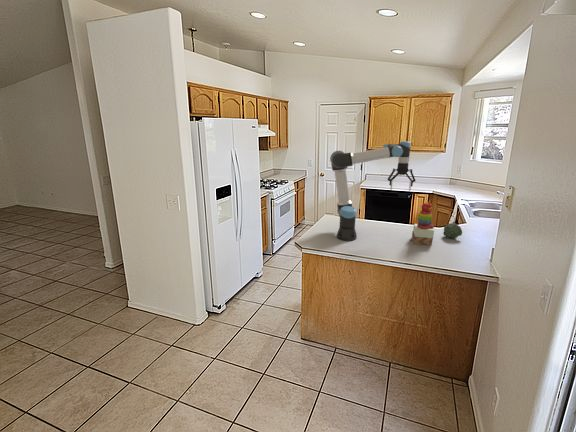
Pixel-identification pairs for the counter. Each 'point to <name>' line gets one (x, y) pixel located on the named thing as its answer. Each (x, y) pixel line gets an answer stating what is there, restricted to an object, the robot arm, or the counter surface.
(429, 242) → the lower slab
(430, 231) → the upper slab
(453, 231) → the vegetable
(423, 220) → the stacking bear
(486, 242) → the counter surface
